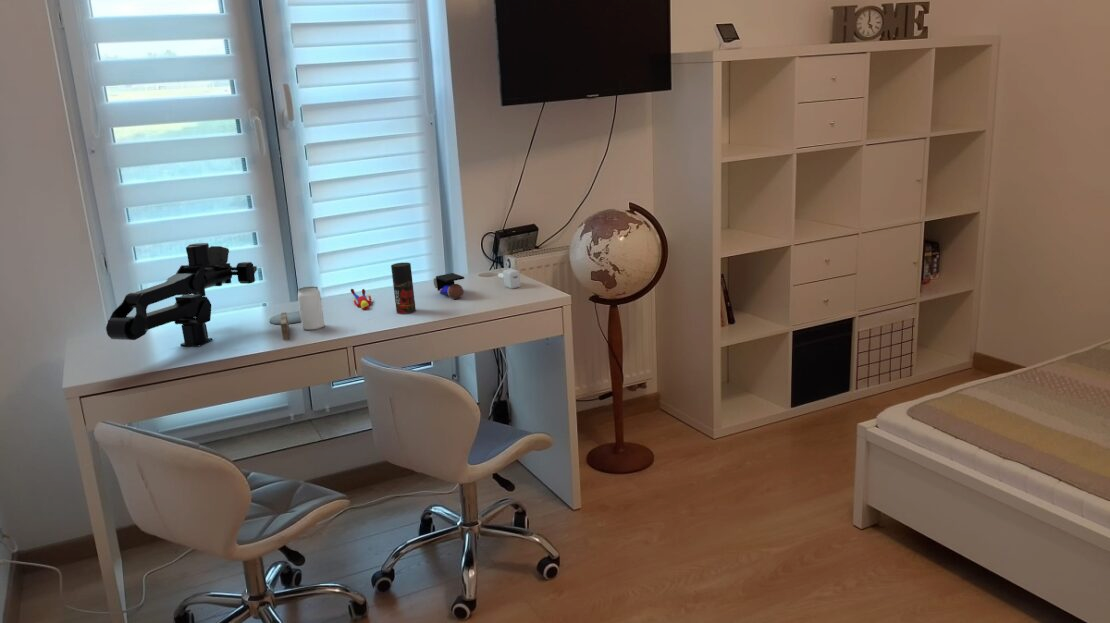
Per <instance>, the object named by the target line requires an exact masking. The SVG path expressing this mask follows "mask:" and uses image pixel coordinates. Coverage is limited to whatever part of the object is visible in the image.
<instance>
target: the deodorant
mask: <svg viewBox="0 0 1110 623" xmlns="http://www.w3.org/2000/svg"><path fill="white" fill-rule="evenodd" d="M390 268H391V276H392V284H393V285H392V286H393V293H394V294H393V295H394V302H395V311H396V314H398V315H407V314H412V313H415V312H416V300H415V291H414V282H413V274H412V264H411V262H396V263H393V264H391V266H390Z"/></svg>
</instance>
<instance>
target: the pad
mask: <svg viewBox="0 0 1110 623" xmlns="http://www.w3.org/2000/svg"><path fill="white" fill-rule="evenodd" d="M286 313H287V320H288V325H292V324H299V323H302V322H301V315H300V310H297V311H290V312H286ZM268 322H269V323H270V324H272V325H278V326H279V325H280V326H281V313H279V314H276V315H274V316H271V317H270V318H269V321H268Z"/></svg>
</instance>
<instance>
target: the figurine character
mask: <svg viewBox="0 0 1110 623" xmlns="http://www.w3.org/2000/svg"><path fill="white" fill-rule="evenodd" d="M464 279H465V276H462V275H460V274H457V273H454V272H449V273H445V274H440V275H436V276H435V278H433V285H434V287H435V289H437V291H438V292H439V294H441V295H448V297H449V298H451V299H453V300H458V299H460V298H462V297H463V295H464V288H463V287H462V286H461V285H460V284H459V283H455V282H456V281H459V280H461V281H462V280H464Z"/></svg>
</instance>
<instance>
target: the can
mask: <svg viewBox="0 0 1110 623" xmlns="http://www.w3.org/2000/svg"><path fill="white" fill-rule="evenodd" d="M318 288H319V287H318V286H315V285H310V286H305V287H304V286H303V287H300V288H299V289H298V290H297V291H298V293H297V300H298V301H297V302H298V307H299V311H300V315H301V322H300V323H301V328H302V329H303V330H304V331H315V330H321V329H323V328H324V327H325V317H324V310H323V305H322V303H323V302H322V296H321V291H320V290H319V289H318Z"/></svg>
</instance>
